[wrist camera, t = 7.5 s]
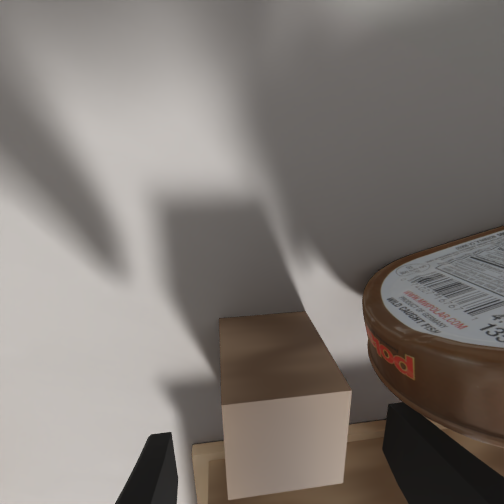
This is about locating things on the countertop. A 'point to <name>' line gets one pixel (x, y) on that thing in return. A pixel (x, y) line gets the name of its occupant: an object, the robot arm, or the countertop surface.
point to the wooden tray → (355, 471)
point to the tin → (443, 333)
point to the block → (280, 406)
